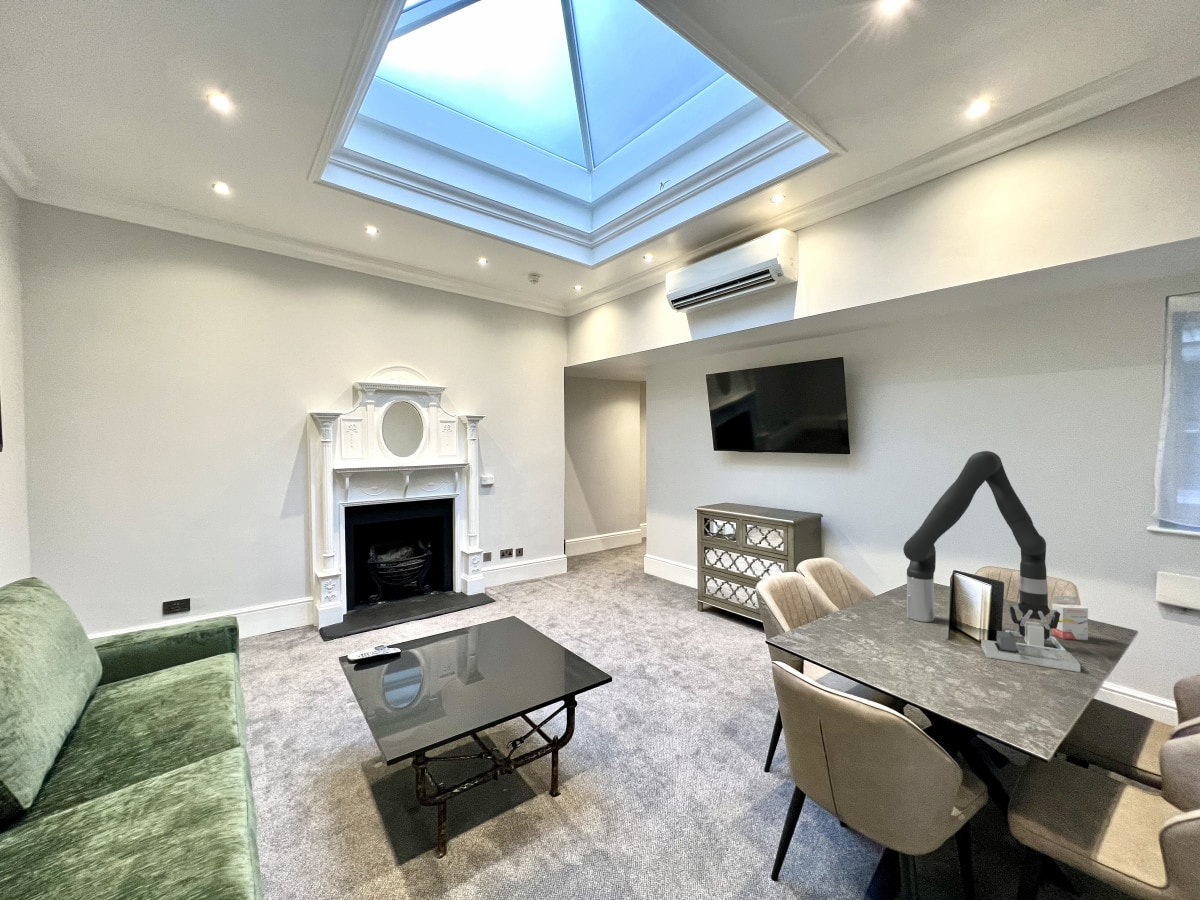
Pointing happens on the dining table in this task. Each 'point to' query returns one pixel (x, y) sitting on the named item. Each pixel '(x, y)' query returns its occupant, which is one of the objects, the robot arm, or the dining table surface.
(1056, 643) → the tray
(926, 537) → the robot arm
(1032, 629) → the plug
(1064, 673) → the dining table surface
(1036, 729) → the dining table surface
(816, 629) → the dining table surface
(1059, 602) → the ink cartridge box
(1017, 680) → the dining table surface
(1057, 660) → the grey fixture base
